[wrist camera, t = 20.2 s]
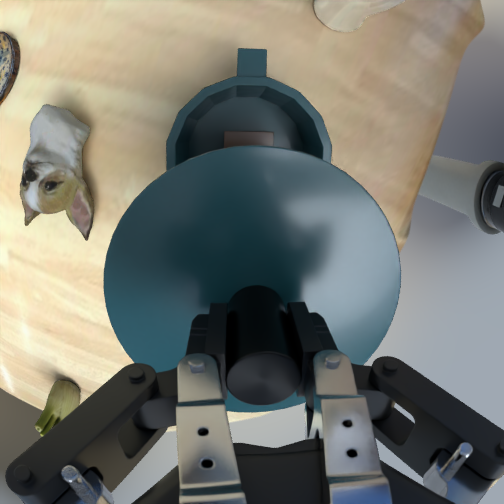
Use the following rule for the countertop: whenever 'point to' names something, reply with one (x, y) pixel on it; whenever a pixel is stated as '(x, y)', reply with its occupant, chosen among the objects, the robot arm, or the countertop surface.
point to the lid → (252, 266)
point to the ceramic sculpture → (56, 169)
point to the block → (248, 138)
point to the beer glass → (349, 12)
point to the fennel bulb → (58, 405)
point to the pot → (247, 114)
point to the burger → (7, 63)
